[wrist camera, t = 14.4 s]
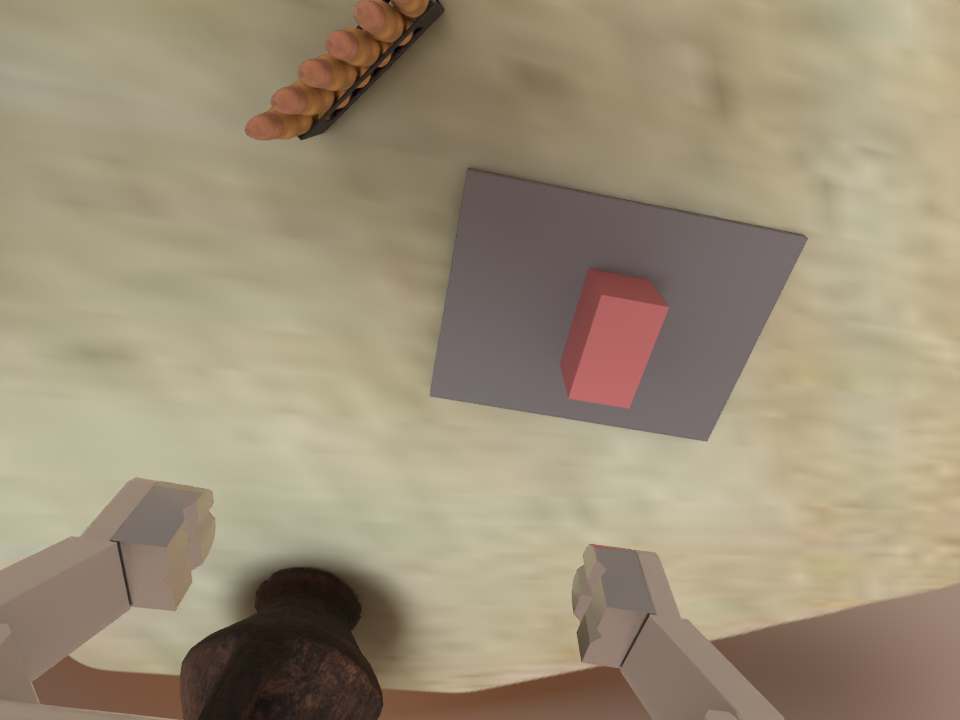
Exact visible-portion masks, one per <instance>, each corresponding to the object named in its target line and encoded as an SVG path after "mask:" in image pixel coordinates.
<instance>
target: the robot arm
mask: <svg viewBox="0 0 960 720" xmlns="http://www.w3.org/2000/svg"><path fill="white" fill-rule="evenodd" d="M213 503H214V500H213V492H212V491H211V490H209V489H204V488H198V487H193V486H187V485H181V484H175V483H169V482H163V481H155V480H149V479H143V478H137V477H136V478H134V479H132V480H130V481H129V482H127V483H126V485H125V486H124V487H123V488H122V489H121V490H120V491H119V493H118V494H117V495H116V496H115V497H114V498H113V499H112V501H111V502H110V503H109V504H108V505H107V506H106V507H105V509H104V510H103V511H102V512H101V513H100V514H99V515H98V517H97V518H96V519H95V520H94V521H93V522H92V523H91V525H90V526H89V527H88V528H87V529H86V530H85V531H84V533H83V534H82V535H81V536H80V537H74V536H71V537H69V538H67V539H65V540H63V541H61V542H59V543H57V544H55V545H52V546H50V547H48V548H46V549H44V550H42V551H40V552H38V553H36V554H34V555H32V556H30V557H28V558H26V559H23V560H21V561H19V562H17V563H15V564H13V565H11V566H9V567H7V568H5V569H3V570H1V571H0V720H176V719H167V718H158V717H149V716H140V715H131V714H122V713H112V712H104V711H95V710H86V709H77V708H68V707H59V706H50V705H41V704H40V702H39V700H38V698H37V695H36V692H35V690H34V687H33V685H32V681H34V680H35V679H36V678H38V677H39V676H40V675H42V674H43V673H44V672H46V671H47V670H48V669H50V668H51V667H52V666H54V665H55V664H57V663H58V662H59V661H61V660H62V659H63V658H65V657H66V656H67V655H69V654H70V653H72V652H73V651H74V650H76V649H77V648H78V647H80V646H81V645H82V644H84V643H85V642H86V641H88V640H89V639H90V638H92V637H93V636H95V635H96V634H97V633H99V632H100V631H101V630H103V629H104V628H105V627H107V626H108V625H109V624H111V623H112V622H113V621H115V620H116V619H118V618H119V617H120V616H122V615H123V614H124V613H126V612H127V611H128V610H130V606H131V607H141V608H151V609H161V610H171V611H176V609H177V607H178V606H179V604H180V602H181V600H182V599H183V597H184V595H185V593H186V592H187V590H188V588H189V587H190V585H191V583H192V576H191V571H192V570H193V569H195V568H196V567H198V566H200V565H201V564H203V562H204V560H205V559H206V557H207V555H208V553H209V551H210V548H211V545H212V542H213V539H214V535H215V527H216V526H215V518H214V517H213V515H212V514H211V513H210V512H209V510H210V508H211V507H212V505H213ZM583 559H584V565H583V566H581V567H580V568H578V569H577V571H576V574H575V577H574V580H573V587H572V605H573V612H574V614H575V616H576V617H577V618H578V619H579V620H580V622H581V623H580V626H579V628H578V630H577V638H578V644H579V650H580V656H581V662H583V663H589V664H596V665H602V666H608V667H615V668H621V669H620V671H621V673H622V674H623V676H624V677H625V679H626V680H627V682H628V683H629V685H630V686H631V687H632V689H633V691H634V692H635V694H636V695H637V697H638V698H639V700H640V701H641V702H642V704H643V706H644V707H645V709H646V710H647V712H648V713H649V715H650V716H651V717H652V719H653V720H784V718H783V716H782V715H781V714H780V713H779V712H778V711H776V709H775V708H774V707H773V706H772V705H771V704H770V703H769V702H768V701H767V700H766V699H765V698H764V697H763V696H762V695H761V694H760V693H759V692H758V691H757V690H756V689H755V688H754V687H753V686H752V685H751V684H750V683H749V682H748V681H747V680H746V679H745V678H744V677H743V675H742V674H741V673H740V672H739V671H737V669H736V668H735V667H734V666H733V665H732V664H731V663H730V662H729V661H728V660H727V659H726V658H725V657H724V656H723V655H722V654H721V653H720V652H719V651H718V650H717V649H716V648H715V647H714V646H713V645H712V644H711V643H710V642H709V641H708V640H707V639H706V638H705V637H704V636H703V635H702V634H701V632H700V631H699V630H698V629H697V628H696V627H695V626H694V625H693V624H692V623H691V622H690V621H689V620H687V619H681V616H680V614H679V611H678V608H677V605H676V602H675V600H674V597H673V594H672V591H671V588H670V586H669V583H668V580H667V577H666V575H665V572H664V569H663V566H662V563H661V561H660V558H659V556H658V555H657V554H656V553H654V552H646V551H639V550H631V549H625V548H617V547H610V546H602V545H595V544H589V545H588V546H587V547H586V549H585V551H584V554H583Z"/></svg>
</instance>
